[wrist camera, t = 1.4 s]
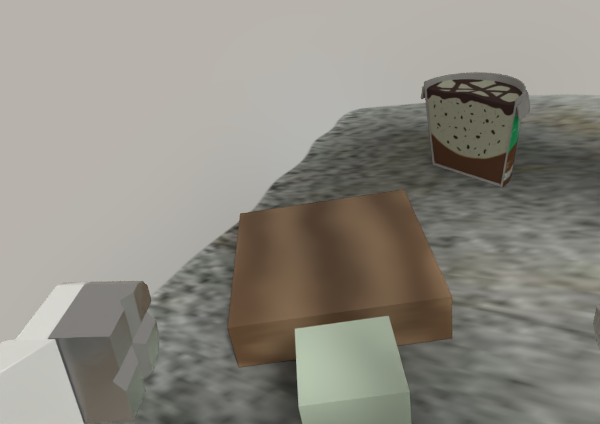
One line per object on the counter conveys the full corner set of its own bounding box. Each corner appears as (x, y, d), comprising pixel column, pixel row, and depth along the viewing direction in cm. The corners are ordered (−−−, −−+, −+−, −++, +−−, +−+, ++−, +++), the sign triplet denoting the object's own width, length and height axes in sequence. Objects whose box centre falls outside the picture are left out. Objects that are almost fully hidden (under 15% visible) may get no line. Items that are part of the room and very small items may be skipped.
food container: (547, 169, 58) (556, 80, 53) (515, 191, 55) (521, 99, 50) (455, 143, 67) (455, 65, 62) (422, 161, 64) (420, 81, 59)
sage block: (398, 436, 33) (388, 315, 28) (416, 517, 29) (409, 391, 24) (318, 446, 33) (294, 328, 28) (325, 528, 29) (298, 406, 24)
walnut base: (405, 224, 53) (404, 189, 51) (452, 338, 39) (452, 296, 37) (248, 247, 54) (240, 213, 52) (239, 367, 40) (227, 327, 38)
